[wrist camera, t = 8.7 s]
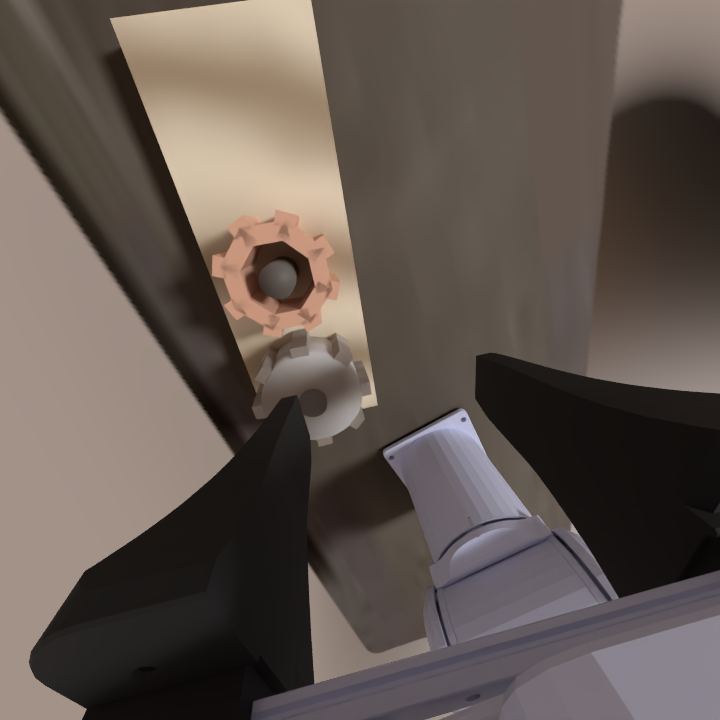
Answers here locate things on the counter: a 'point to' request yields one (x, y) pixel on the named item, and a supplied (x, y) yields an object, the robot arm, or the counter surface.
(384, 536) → the counter surface
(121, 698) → the robot arm
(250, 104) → the board
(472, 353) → the counter surface
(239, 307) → the gear
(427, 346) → the counter surface
